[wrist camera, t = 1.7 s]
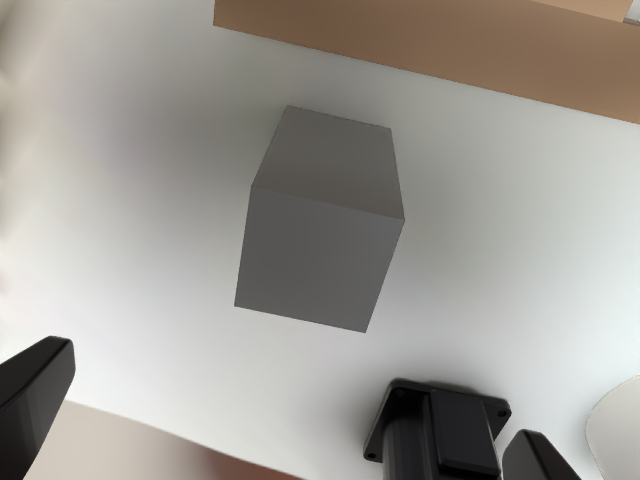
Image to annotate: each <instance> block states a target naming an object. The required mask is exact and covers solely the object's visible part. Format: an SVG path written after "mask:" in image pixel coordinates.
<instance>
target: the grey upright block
mask: <svg viewBox="0 0 640 480" xmlns="http://www.w3.org/2000/svg"><path fill="white" fill-rule="evenodd" d="M404 222H405V218H404V211H403V205H402V198H401V192H400V185H399V179H398V172H397V166H396V160H395V153H394V147H393V140H392V134H391V129H389V128H384V127H380V126H375V125H371V124H366V123H362V122H358V121H353V120H349V119H344V118H340V117H336V116H331V115H327V114H322V113H318V112H313V111H309V110H305V109H300V108H296V107H291V106H287V107H286V109H285V111H284V114H283V116H282V118H281V120H280V123H279V125H278V127H277V130H276V132H275V134H274V136H273V139H272V141H271V143H270V145H269V148H268V150H267V152H266V154H265V157H264V159H263V161H262V164H261V166H260V168H259V170H258V173H257V175H256V177H255V179H254V182H253V184H252V186H251V192H250V199H249V206H248V213H247V219H246V226H245V233H244V240H243V247H242V254H241V261H240V268H239V275H238V282H237V289H236V296H235V303H234V306H236V307H241V308H246V309H251V310H256V311H260V312H265V313H270V314H275V315H280V316H285V317H290V318H294V319H299V320H304V321H309V322H314V323H319V324H324V325H328V326H333V327H338V328H343V329H348V330H353V331H358V332H362V333H366V330H367V327H368V325H369V322H370V319H371V316H372V313H373V310H374V307H375V305H376V302H377V299H378V296H379V293H380V290H381V287H382V285H383V282H384V279H385V276H386V273H387V270H388V267H389V265H390V262H391V259H392V256H393V253H394V250H395V247H396V244H397V242H398V239H399V236H400V233H401V230H402V227H403V224H404Z"/></svg>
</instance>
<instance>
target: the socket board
mask: <svg viewBox="0 0 640 480" xmlns="http://www.w3.org/2000/svg"><path fill="white" fill-rule="evenodd" d="M632 2H633V0H215V9H214V21H213V25H214V26H218V27H223V28H227V29H231V30H236V31H240V32H244V33H249V34H253V35H257V36H261V37H266V38H270V39H274V40H279V41H283V42H287V43H292V44H296V45H300V46H304V47H309V48H313V49H317V50H322V51H326V52H330V53H335V54H339V55H343V56H347V57H352V58H356V59H360V60H365V61H369V62H373V63H378V64H382V65H386V66H391V67H395V68H399V69H403V70H408V71H412V72H416V73H421V74H425V75H429V76H434V77H438V78H442V79H446V80H451V81H455V82H459V83H464V84H468V85H472V86H477V87H481V88H485V89H489V90H494V91H498V92H502V93H507V94H511V95H515V96H520V97H524V98H528V99H532V100H537V101H541V102H545V103H550V104H554V105H558V106H563V107H567V108H571V109H576V110H580V111H584V112H588V113H593V114H597V115H601V116H606V117H610V118H614V119H619V120H623V121H627V122H631V123H636V124H640V22H638V21H634V20H630V19H626V18H625V16H626V14H627V12H628V10H629V8H630V6H631V4H632Z"/></svg>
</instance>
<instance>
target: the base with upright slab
mask: <svg viewBox="0 0 640 480" xmlns="http://www.w3.org/2000/svg"><path fill="white" fill-rule="evenodd" d="M585 437H586V440H587V442H588V445H589V447H590V450H591V452H592V454H593V456H594V458H595V461H596V463H597V465H598V467H599V470H600V472H601V474H602V476H603V479H604V480H640V375H638V376H636V377H634V378H631V379H629V380H627V381H625V382H623V383H622V384H620V385H619V386H618V387H616V388H615V389H613V390H612V391H610V392H609V393H607V394H606V395H605V396H604V397H603V398H602V399H601V400H600V401H599V402H598V404H597V405H596V406H595V407H594V408H593V410H592V412H591V414H590V416H589V418H588V420H587V422H586V431H585Z"/></svg>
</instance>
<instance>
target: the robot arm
mask: <svg viewBox="0 0 640 480" xmlns="http://www.w3.org/2000/svg"><path fill="white" fill-rule="evenodd" d="M74 375H75V357H74V346H73V342H72V341H71V340H70V339H67V338H62V337H57V336H48V337H46V338H44V339H42V340H40V341H39V342H37V343H35V344H34V345H32V346H30V347H29V348H27V349H25V350H24V351H22V352H20V353H18V354H17V355H15V356H13V357H12V358H10V359H8V360H7V361H5V362H3V363H1V364H0V480H23V478H24V477H25V475H26V473H27V472H28V470H29V468H30V467H31V465H32V463H33V461H34V460H35V458H36V456H37V454H38V452H39V450H40V448H41V446H42V444H43V442H44V440H45V438H46V436H47V434H48V432H49V430H50V428H51V425H52V423H53V421H54V419H55V417H56V415H57V412H58V410H59V408H60V406H61V404H62V402H63V400H64V398H65V396H66V393H67V391H68V389H69V387H70V385H71V383H72V381H73V378H74ZM397 390H401V391H397ZM511 414H512V413H511V409H510V406H509V404H508V403H507V402H504V401H499V400H494V399H489V398H484V397H479V396H474V395H469V394H464V393H459V392H454V391H449V390H444V389H439V388H434V387H429V386H424V385H419V384H414V383H409V382H404V381H395V382H393V383H391V385H390V386H389V389H388V391H387V393H386V396H385V398H384V401H383V403H382V405H381V408H380V410H379V412H378V415H377V417H376V420H375V422H374V424H373V427H372V429H371V431H370V434H369V436H368V439H367V441H366V443H365V446H364V449H363V456H364V458H365V459H366V460H369V461H373V462H379V463H383V480H502V477H501V468H500V464H499V460H498V456H497V453H496V449H495V445H494V441H495V439H496V438H497V436H498V435H499V433H500V431H501V430H502V428H503V427H504V425H505V424H506V422H507V421H508V419H509V418H510V416H511ZM502 469H503V480H582V479H581V478H580V477H579V476H578V475H577V473H576V472H575V471H574V470H573V469H572V467H571V466H570V465H569V464H568V463H567V462H566V460H565V459H564V458H563V457H562V456H561V454H560V453H559V452H558V451H557V450H556V448H555V447H554V446H553V445H552V444H551V443H550V441H549V440H548V439H547V438H546V437H545V436H544V435H543V434H542V433H540V432H537V431H532V430H527V429H521V430H519V431H518V432H517V434H516V435H515V436H514V438H513V439H512V441H511V442H510V444H509V445H508V447H507V448H506V450H505V451H504V454H503V458H502Z"/></svg>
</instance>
